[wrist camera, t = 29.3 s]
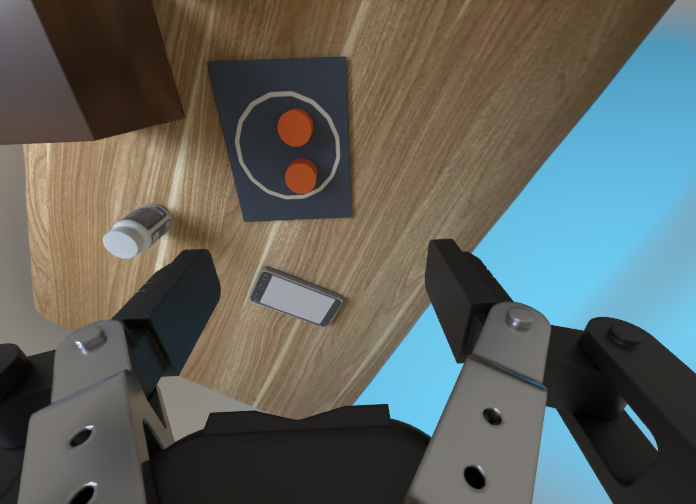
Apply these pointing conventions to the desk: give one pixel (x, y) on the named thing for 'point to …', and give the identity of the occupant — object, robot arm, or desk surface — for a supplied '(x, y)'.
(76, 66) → the desk cube
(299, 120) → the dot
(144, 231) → the pill bottle
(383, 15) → the desk surface
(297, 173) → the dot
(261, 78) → the dark mat with ring
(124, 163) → the desk surface
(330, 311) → the smartphone
